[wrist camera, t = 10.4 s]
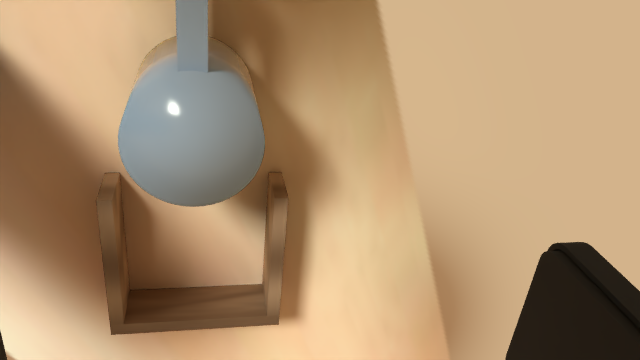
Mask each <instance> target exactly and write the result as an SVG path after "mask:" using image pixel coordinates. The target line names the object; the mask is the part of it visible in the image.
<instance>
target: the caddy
mask: <svg viewBox="0 0 640 360" xmlns="http://www.w3.org/2000/svg"><path fill="white" fill-rule="evenodd" d="M96 205H97V214H98V223H99V232H100V241H101V249H102V258H103V267H104V276H105V285H106V293H107V302H108V311H109V320H110V328H111V335H116V334H132V333H148V332H165V331H181V330H197V329H213V328H230V327H246V326H262V325H279V313H280V300H281V287H282V274H283V261H284V249H285V236H286V223H287V210H288V195H287V191H286V188H285V184H284V180H283V176H282V173H269V176H268V194H267V212H266V229H265V247H264V265H263V282H262V284H257V285H235V286H213V287H191V288H169V289H147V290H130V285H129V274H128V263H127V251H126V240H125V228H124V217H123V206H122V194H121V183H120V173H105V175H104V178H103V181H102V184H101V187H100V190H99V193H98V196H97V199H96Z"/></svg>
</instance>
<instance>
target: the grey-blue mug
mask: <svg viewBox="0 0 640 360" xmlns="http://www.w3.org/2000/svg"><path fill="white" fill-rule="evenodd" d="M176 31H177V36H176V37H173V38H170V39H168V40H165V41H163V42H162V43H160V44H158V45H157V46H156V47H155V48H153V49H152V50H151V51H150V52H149V53H148V54H147V56H146V57H145V59H144V60H143V61H142V63H141V66H140V68H139V70H138V73H137V76H136V79H135V82H134V85H133V88H132V91H131V94H130V97H129V100H128V103H127V106H126V108H125V111H124V114H123V117H122V120H121V124H120V127H119V133H118V147H119V153H120V156H121V159H122V162H123V164H124V166H125V168H126V170H127V172H128V173H129V175H130V176H131V178H132V179H133V180H134V181H135V182H136V183H137V184H138V185H139V186H140V187H141V188H142V189H143V190H145V191H146V192H147V193H149V194H150V195H152V196H154V197H156V198H158V199H160V200H162V201H165V202H168V203H171V204H175V205H181V206H192V207H196V206H206V205H212V204H215V203H219V202H221V201H224V200H226V199H228V198H230V197H232V196H234V195H235V194H237V193H238V192H240V191H241V190H242V189H244V188H245V187H246V186H247V185H248V184H249V183H250V181H251V180H252V179H253V178H254V176H255V175H256V173H257V171H258V170H259V167H260V165H261V163H262V159H263V155H264V149H265V137H264V130H263V126H262V122H261V118H260V114H259V109H258V105H257V101H256V97H255V93H254V89H253V85H252V80H251V77H250V74H249V71H248V69H247V67H246V65H245V63H244V62H243V60H242V59H241V58H240V57H239V55H238V54H237V53H236V52H235V51H234V50H233V49H231V48H230V47H229V46H227V45H226V44H224V43H222V42H221V41H219V40H216V39H214V38H211V37H208V0H176Z"/></svg>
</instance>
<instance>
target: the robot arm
mask: <svg viewBox="0 0 640 360" xmlns="http://www.w3.org/2000/svg"><path fill="white" fill-rule="evenodd" d="M0 360H7V357H6V353H5V349H4V344H3V340H2V336H1V332H0ZM506 360H640V291H639V290H638V289H637V288H635V287H634V286H633V285H632V284H631V283H630V282H629V281H628V280H627V279H626V278H625V277H624V276H623V275H622V274H621V273H620V272H618V271H617V270H616V269H615V268H614V267H613V266H612V265H611V264H610V263H609V262H607V260H606V259H605V258H604V257H603V256H601V255H600V254H599V253H598V252H597V251H596V250H595V249H594V248H593V247H592V246H590V245H589V244H587V243H584V242H573V243H572V242H571V243H555V244H552V245H551V246H550V247H549V249H548V251H547V252H544V253H543V254H542V255H541V257H540V260H539V262H538V265H537V268H536V271H535V274H534V277H533V280H532V283H531V285H530V289H529V291H528V294H527V297H526V300H525V303H524V306H523V309H522V311H521V314H520V317H519V320H518V323H517V326H516V328H515V331H514V334H513V337H512V340H511V343H510V346H509V349H508V351H507V354H506Z"/></svg>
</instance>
